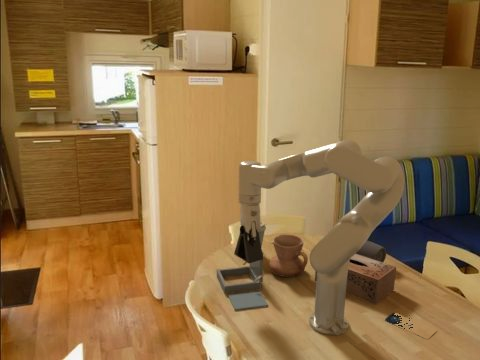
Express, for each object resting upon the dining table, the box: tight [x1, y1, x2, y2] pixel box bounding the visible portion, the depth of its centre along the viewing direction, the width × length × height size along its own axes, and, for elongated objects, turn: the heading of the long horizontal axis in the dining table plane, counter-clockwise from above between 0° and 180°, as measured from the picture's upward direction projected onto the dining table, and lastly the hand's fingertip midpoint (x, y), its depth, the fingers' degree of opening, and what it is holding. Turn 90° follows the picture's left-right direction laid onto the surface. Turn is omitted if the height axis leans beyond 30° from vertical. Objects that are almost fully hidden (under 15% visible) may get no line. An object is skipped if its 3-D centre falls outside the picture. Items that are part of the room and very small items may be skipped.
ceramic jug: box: [268, 233, 309, 278], centre depth 183 cm, size 18×14×14 cm
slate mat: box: [227, 290, 269, 312], centre depth 162 cm, size 10×12×1 cm
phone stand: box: [233, 225, 264, 264], centre depth 156 cm, size 9×6×12 cm, turn 35°
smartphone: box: [384, 312, 413, 330], centre depth 149 cm, size 8×1×15 cm
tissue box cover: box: [314, 254, 397, 306], centre depth 173 cm, size 26×14×10 cm, turn 47°
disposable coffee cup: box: [259, 221, 267, 248], centre depth 199 cm, size 11×11×15 cm
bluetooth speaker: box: [355, 240, 387, 263], centre depth 196 cm, size 23×9×10 cm, turn 42°
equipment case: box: [216, 250, 265, 295], centre depth 173 cm, size 16×15×15 cm
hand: (248, 248), depth 157 cm, fingers closed on phone stand, 2 cm apart
